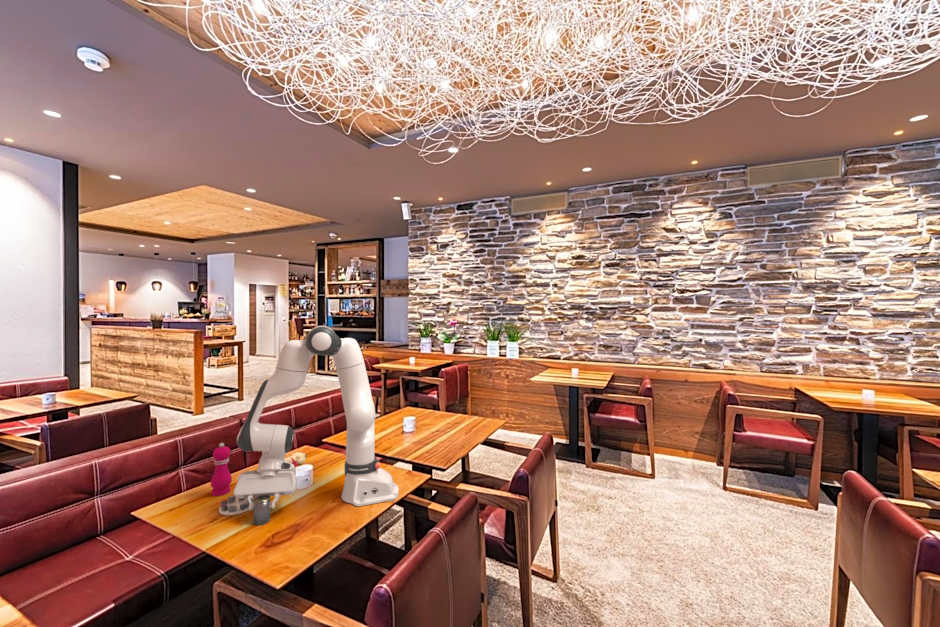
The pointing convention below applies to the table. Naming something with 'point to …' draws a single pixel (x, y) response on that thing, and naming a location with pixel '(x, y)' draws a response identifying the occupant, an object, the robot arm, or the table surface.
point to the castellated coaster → (234, 506)
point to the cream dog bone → (296, 458)
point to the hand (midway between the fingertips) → (261, 508)
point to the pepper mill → (221, 471)
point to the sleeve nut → (261, 510)
